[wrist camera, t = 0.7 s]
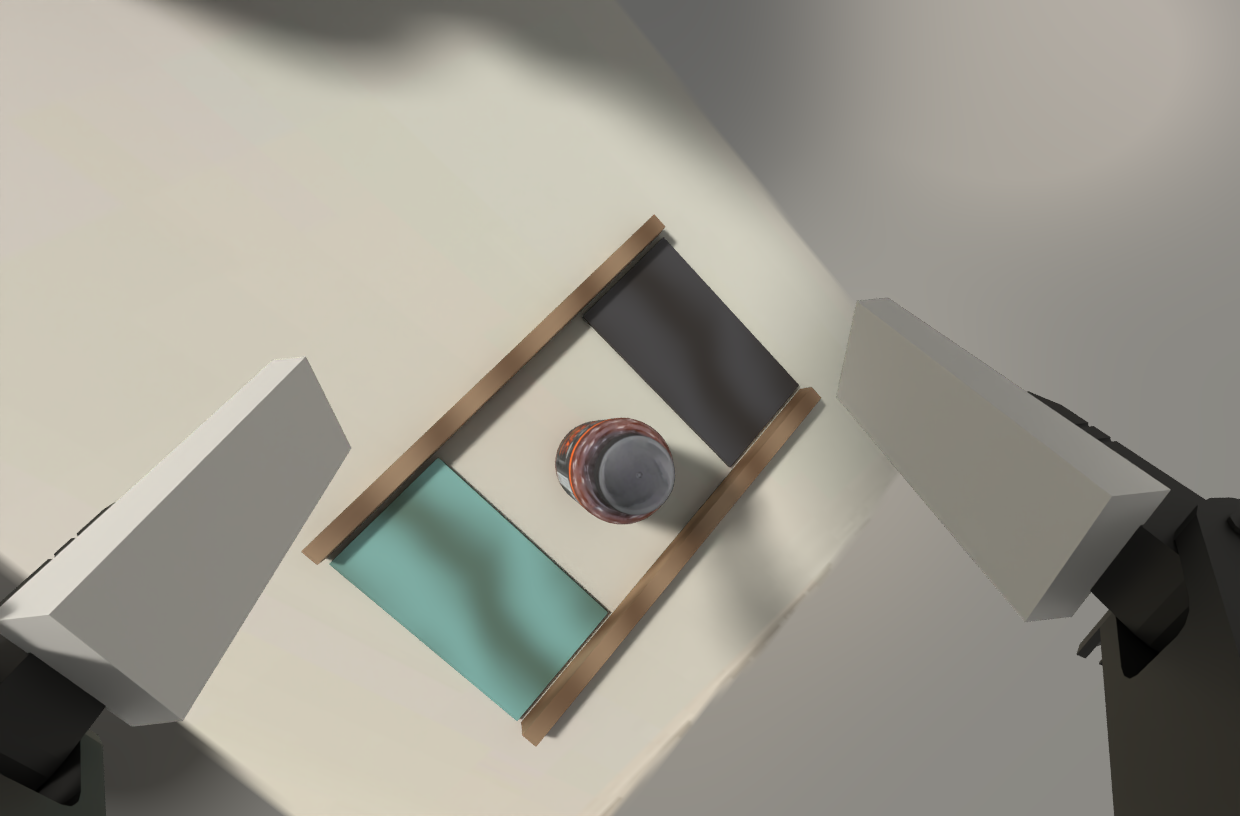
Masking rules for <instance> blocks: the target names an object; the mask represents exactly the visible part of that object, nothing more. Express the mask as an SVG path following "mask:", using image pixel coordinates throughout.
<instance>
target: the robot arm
mask: <svg viewBox="0 0 1240 816" xmlns="http://www.w3.org/2000/svg"><path fill="white" fill-rule="evenodd" d="M836 397H837V398H838V400H839V401H840V402H841V403H842V404H843V406H844V407H845V408H846V409H847V410H848V412H849V413H850V414H851V415H852V416H853V417H854V419H855V420H856V421H857V422H858V423H859V425H860V426H861V427H862V428H863V429H864V431H865V432H866V433H867V434H868V435H869V437H870V438H871V439H872V440H873V441H874V443H875V444H876V445H877V446H878V447H879V449H880V450H881V451H882V452H883V453H884V455H885V456H886V457H887V458H888V459H889V460H890V462H891V463H892V464H893V465H894V466H895V468H896V469H897V470H898V471H899V472H900V474H901V475H902V476H903V477H904V478H905V479H906V481H907V482H908V483H909V484H910V485H911V487H912V488H913V489H914V490H915V492H916V493H917V494H918V495H919V496H920V497H921V499H922V500H923V501H924V502H925V503H926V505H927V506H928V507H929V508H930V509H931V510H932V512H933V513H934V514H935V515H936V516H937V518H938V519H939V520H940V521H941V523H942V524H943V525H944V526H945V527H946V529H947V530H948V531H949V532H950V533H951V535H952V536H953V537H954V538H955V539H956V540H957V542H958V543H959V544H960V545H961V546H962V548H963V549H964V550H965V551H966V552H967V554H968V555H969V556H970V557H971V558H972V560H973V561H974V562H975V563H976V564H977V565H978V567H979V568H980V569H981V570H982V572H983V573H984V574H985V575H986V576H987V577H988V579H989V580H990V581H991V582H992V583H993V585H994V586H995V587H996V588H997V589H998V591H999V592H1000V593H1001V594H1002V595H1003V597H1004V598H1005V599H1006V600H1007V601H1008V603H1009V604H1010V605H1011V606H1012V607H1013V608H1014V609H1015V611H1016V612H1017V613H1018V615H1019V616H1020V617H1021V618H1022V619H1023V620H1024V622H1029V621H1038V620H1047V619H1055V618H1064V617H1072V616H1073V615H1074V613H1075V612H1076V611H1077V610H1078V608H1079V607H1080V605H1081V604H1082V603H1083V602H1084V601H1085V599H1086V598H1087V597H1088V595H1089V594H1090V593H1091V592H1092V593H1093V594H1094V595H1095V596H1096V597H1097V598H1098V599H1099V600H1100V601H1101V602H1102V603H1103V604H1104V605H1105V606H1106V607H1107V608H1108V609H1109V610H1108V611H1107V613H1106V614H1105V615H1104V616H1103V617H1102V619H1101V620H1100V621H1099V622H1098V623H1097V625H1096V626H1095V627H1094V628H1093V629H1092V630H1091V632H1090V633H1089V634H1088V635H1087V636H1086V638H1085V639H1084V640H1083V641H1082V642H1081V644H1080V645H1079V648H1078V652H1077V655H1079V656H1081V657H1084V658H1086V657H1087V656H1088V655H1089V654H1090V653H1091V652H1092V651H1093V649H1094V648H1095V647H1096V646H1099V645H1101V651H1102V660H1101V661H1100V662H1099V664H1100V665H1103V677H1104V690H1105V702H1106V715H1107V728H1108V741H1109V753H1110V767H1111V780H1112V793H1113V805H1114V816H1240V499H1236V498H1209V499H1207V500H1205V499H1204V498H1202V497H1200V496H1199V495H1197V494H1196V493H1194V492H1193V491H1191V490H1190V489H1188V488H1187V487H1185V486H1183V485H1182V484H1180V483H1179V482H1178V481H1176V480H1174V479H1173V478H1172V477H1170V476H1169V475H1167V474H1165V473H1164V472H1162V471H1161V470H1159V469H1158V468H1156V467H1155V466H1153V465H1151V464H1150V463H1149V462H1147V461H1146V460H1144V459H1143V458H1141V457H1139V456H1138V455H1137V454H1135V453H1134V452H1132V451H1131V450H1129V449H1127V448H1126V447H1124V446H1123V445H1121V444H1120V443H1118V442H1117V441H1114V442H1112V441H1111V440H1110V437H1109V436H1108V435H1106V434H1105V433H1103V432H1102V431H1100V430H1099V429H1097V428H1096V427H1094V426H1091V427H1089V426H1088V422H1086V421H1085V420H1083V419H1082V418H1080V417H1078V416H1077V415H1076V414H1074V413H1073V412H1071V411H1070V410H1068V409H1067V408H1065V407H1063V406H1062V405H1060V404H1058V403H1055V402H1053V401H1050V400H1048V399H1045V398H1043V397H1041V396H1038V395H1036V394H1033V393H1031V392H1026V391H1025V390H1023V389H1022V388H1020V387H1019V386H1017V385H1016V384H1014V383H1013V382H1011V381H1010V380H1009V379H1007V378H1006V377H1004V376H1003V375H1001V374H1000V373H998V372H997V371H995V370H994V369H992V368H991V367H989V366H988V365H986V364H985V363H983V362H982V361H981V360H979V359H978V358H976V357H975V356H973V355H972V354H970V353H969V352H967V351H966V350H964V349H963V348H961V347H960V346H958V345H957V344H955V343H954V342H953V341H951V340H950V339H948V338H947V337H945V336H944V335H942V334H941V333H939V332H938V331H936V330H935V329H933V328H932V327H931V326H929V325H928V324H926V323H925V322H923V321H921V320H920V319H919V318H917V317H916V316H914V315H913V314H911V313H910V312H908V311H907V310H905V309H904V308H903V307H901V306H899V305H898V304H896V303H895V302H894V301H892V300H891V299H889V298H880V299H871V300H860V301H857V302H856V307H855V311H854V316H853V321H852V325H851V330H850V335H849V340H848V344H847V349H846V354H845V358H844V363H843V368H842V372H841V377H840V382H839V386H838V391H837V396H836ZM350 449H351V446H350V444H349V442H348V440H347V438H346V436H345V434H344V432H343V430H342V428H341V426H340V424H339V422H338V420H337V418H336V416H335V414H334V412H333V410H332V408H331V406H330V404H329V402H328V400H327V398H326V396H325V394H324V392H323V390H322V388H321V386H320V384H319V382H318V380H317V378H316V376H315V374H314V372H313V370H312V368H311V366H310V364H309V362H308V360H307V358H306V356H304V357H294V358H285V359H275V360H272V361H271V362H270V363H269V364H267V365H266V366H265V367H264V368H263V369H262V370H261V371H260V372H259V373H258V374H256V375H255V376H254V377H253V378H252V379H251V380H250V381H249V382H248V383H247V384H245V385H244V386H243V387H242V388H241V389H240V390H239V391H238V392H237V393H235V394H234V395H233V396H232V397H231V398H230V399H229V400H228V401H227V402H226V403H224V404H223V405H222V406H221V407H220V408H219V409H218V410H217V411H216V412H215V413H213V414H212V415H211V416H210V417H209V418H208V419H207V420H206V421H205V422H203V423H202V424H201V425H200V426H199V427H198V428H197V429H196V430H195V431H194V432H192V433H191V434H190V435H189V436H188V437H187V438H186V439H185V440H184V441H183V442H181V443H180V444H179V445H178V446H177V447H176V448H175V449H174V450H173V451H171V452H170V453H169V454H168V455H167V456H166V457H165V458H164V459H163V460H162V461H160V462H159V463H158V464H157V465H156V466H155V467H154V468H153V469H152V470H151V471H149V472H148V473H147V474H146V475H145V476H144V477H143V478H142V479H141V480H139V481H138V482H137V483H136V484H135V485H134V486H133V487H132V488H131V489H130V490H128V491H127V492H126V493H125V494H124V495H123V496H122V497H121V498H120V499H119V500H117V501H116V502H115V503H113V504H111V505H110V506H108V507H107V508H105V509H104V510H102V511H101V512H100V513H99V514H98V515H97V516H96V517H95V518H94V519H92V520H91V521H90V522H89V523H88V524H87V525H86V526H85V527H84V528H82V529H81V530H80V531H79V532H78V533H77V538H71V539H70V540H69V541H68V542H67V543H66V544H65V545H63V546H62V547H61V548H60V549H59V550H58V551H57V552H56V553H55V554H54V555H55V557H54V558H53V559H48V560H47V561H46V562H45V563H43V564H42V565H41V566H40V567H39V568H38V569H37V570H36V571H35V572H33V573H32V574H31V575H30V576H29V577H28V578H27V579H26V580H25V581H23V582H22V583H21V584H20V585H19V586H18V587H17V588H16V589H15V590H13V591H12V592H11V593H10V594H9V595H8V596H7V597H6V598H5V599H3V600H2V601H1V602H0V816H106V809H105V786H104V764H103V746H102V743H101V741H100V738H99V736H98V735H97V734H95V733H94V732H92V731H91V730H89V728H90V727H91V725H92V724H93V723H94V721H95V720H96V719H97V717H98V716H99V715H100V713H101V712H102V711H103V709H104V708H106V709H108V710H109V711H110V712H112V713H113V714H115V715H116V716H117V717H119V718H120V719H122V720H123V721H125V722H126V723H127V724H129V725H130V726H141V725H149V724H157V723H166V722H175V721H183V720H184V718H185V716H186V715H187V713H188V712H189V710H190V708H191V707H192V705H193V703H194V702H195V700H196V699H197V697H198V695H199V694H200V692H201V690H202V689H203V687H204V686H205V684H206V682H207V681H208V679H209V678H210V676H211V674H212V673H213V671H214V669H215V668H216V666H217V665H218V663H219V661H220V660H221V658H222V657H223V655H224V653H225V652H226V650H227V648H228V647H229V645H230V644H231V642H232V640H233V639H234V637H235V635H236V634H237V632H238V631H239V629H240V627H241V626H242V624H243V623H244V621H245V619H246V618H247V616H248V614H249V613H250V611H251V610H252V608H253V606H254V605H255V603H256V602H257V600H258V598H259V597H260V595H261V593H262V592H263V590H264V589H265V587H266V585H267V584H268V582H269V580H270V579H271V577H272V576H273V574H274V572H275V571H276V569H277V568H278V566H279V564H280V563H281V561H282V559H283V558H284V556H285V555H286V553H287V551H288V550H289V548H290V546H291V545H292V543H293V542H294V540H295V538H296V537H297V535H298V534H299V532H300V530H301V529H302V527H303V525H304V524H305V522H306V521H307V519H308V517H309V516H310V514H311V513H312V511H313V509H314V508H315V506H316V504H317V503H318V501H319V500H320V498H321V496H322V495H323V493H324V491H325V490H326V488H327V487H328V485H329V483H330V482H331V480H332V479H333V477H334V475H335V474H336V472H337V470H338V469H339V467H340V466H341V464H342V462H343V461H344V459H345V457H346V456H347V454H348V453H349V451H350Z"/></svg>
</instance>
